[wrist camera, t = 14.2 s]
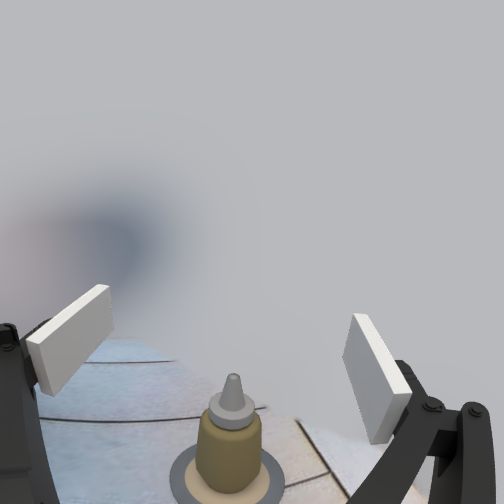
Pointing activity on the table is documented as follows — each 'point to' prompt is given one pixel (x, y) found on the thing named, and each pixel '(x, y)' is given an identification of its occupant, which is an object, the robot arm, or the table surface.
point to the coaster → (208, 500)
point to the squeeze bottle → (229, 440)
